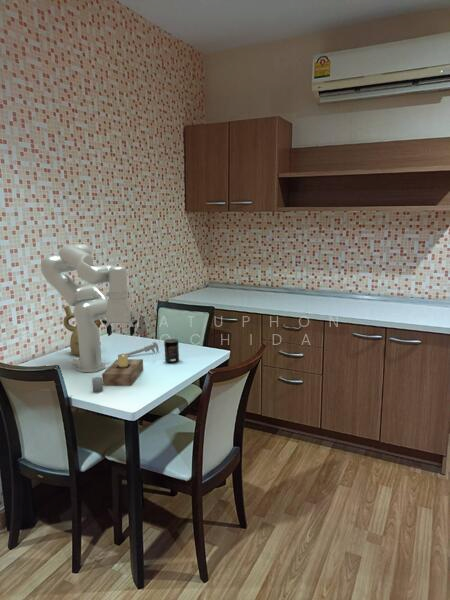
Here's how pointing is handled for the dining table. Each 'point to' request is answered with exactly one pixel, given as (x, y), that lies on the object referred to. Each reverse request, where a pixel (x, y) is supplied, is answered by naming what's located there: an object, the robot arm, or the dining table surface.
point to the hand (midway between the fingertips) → (120, 335)
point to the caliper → (145, 349)
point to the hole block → (123, 373)
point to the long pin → (123, 360)
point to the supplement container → (171, 351)
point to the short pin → (97, 385)
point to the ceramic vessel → (74, 330)
